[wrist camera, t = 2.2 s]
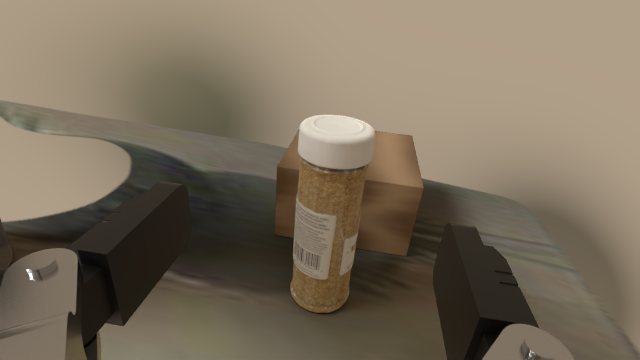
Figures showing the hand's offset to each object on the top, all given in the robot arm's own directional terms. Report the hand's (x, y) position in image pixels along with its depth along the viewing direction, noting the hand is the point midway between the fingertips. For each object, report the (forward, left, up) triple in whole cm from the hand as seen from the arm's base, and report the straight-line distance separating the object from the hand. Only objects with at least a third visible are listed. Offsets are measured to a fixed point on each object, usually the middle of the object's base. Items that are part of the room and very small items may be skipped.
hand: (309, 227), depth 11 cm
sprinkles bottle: (0, +11, -14) cm, 18 cm away
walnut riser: (+1, +23, -14) cm, 27 cm away
